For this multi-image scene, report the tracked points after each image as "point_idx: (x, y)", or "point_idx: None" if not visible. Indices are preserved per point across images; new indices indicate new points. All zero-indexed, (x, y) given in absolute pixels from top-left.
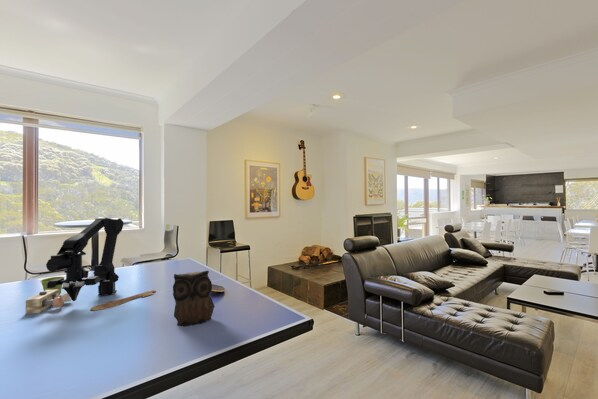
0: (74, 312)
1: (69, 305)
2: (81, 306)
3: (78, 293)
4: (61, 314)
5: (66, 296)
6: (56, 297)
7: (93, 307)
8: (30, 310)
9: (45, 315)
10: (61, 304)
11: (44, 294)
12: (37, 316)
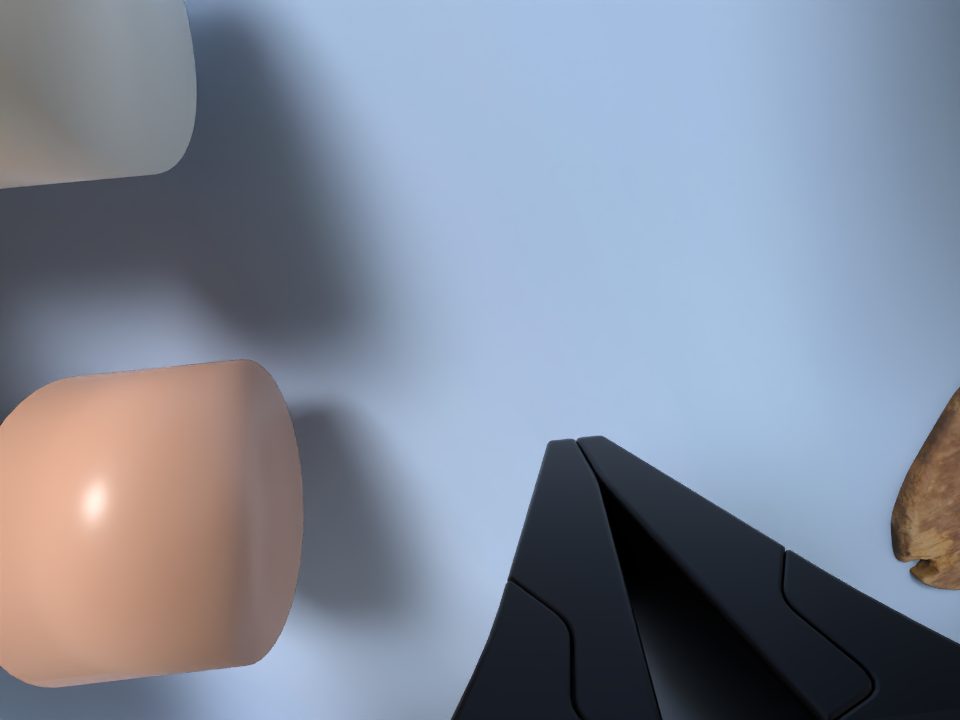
0: None
1: (339, 238)
2: (669, 350)
3: (757, 547)
4: None
5: (56, 172)
6: (57, 664)
7: (958, 516)
8: None
9: (282, 671)
10: (283, 474)
11: None
12: (183, 693)
